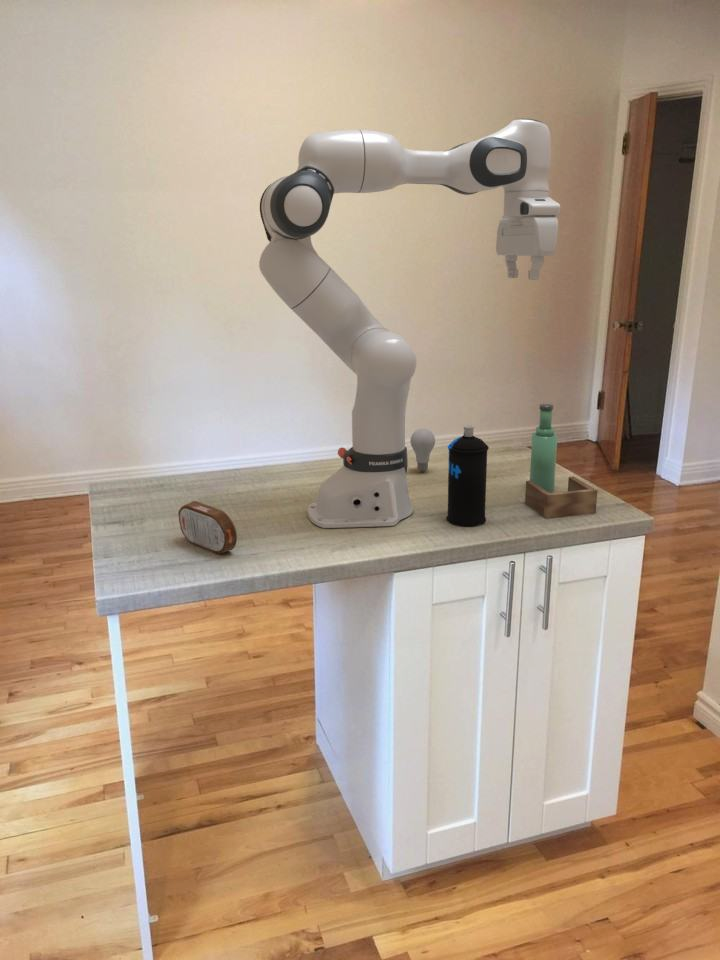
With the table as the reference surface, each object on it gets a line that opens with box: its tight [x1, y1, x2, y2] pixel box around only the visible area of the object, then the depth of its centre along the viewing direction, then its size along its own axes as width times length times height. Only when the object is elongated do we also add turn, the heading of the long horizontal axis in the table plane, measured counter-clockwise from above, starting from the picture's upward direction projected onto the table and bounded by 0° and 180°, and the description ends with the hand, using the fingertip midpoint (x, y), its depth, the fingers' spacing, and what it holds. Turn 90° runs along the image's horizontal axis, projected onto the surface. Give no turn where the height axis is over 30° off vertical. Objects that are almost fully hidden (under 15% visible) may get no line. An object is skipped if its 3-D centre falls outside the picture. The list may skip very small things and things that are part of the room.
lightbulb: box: [410, 428, 436, 473], centre depth 195 cm, size 6×6×11 cm
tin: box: [178, 500, 238, 555], centre depth 151 cm, size 15×3×8 cm, turn 48°
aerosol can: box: [445, 425, 489, 528], centre depth 161 cm, size 8×8×20 cm
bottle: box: [529, 403, 558, 493], centre depth 179 cm, size 6×6×20 cm
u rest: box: [524, 475, 598, 519], centre depth 169 cm, size 11×10×5 cm
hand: (522, 278), depth 162 cm, fingers open, 8 cm apart
